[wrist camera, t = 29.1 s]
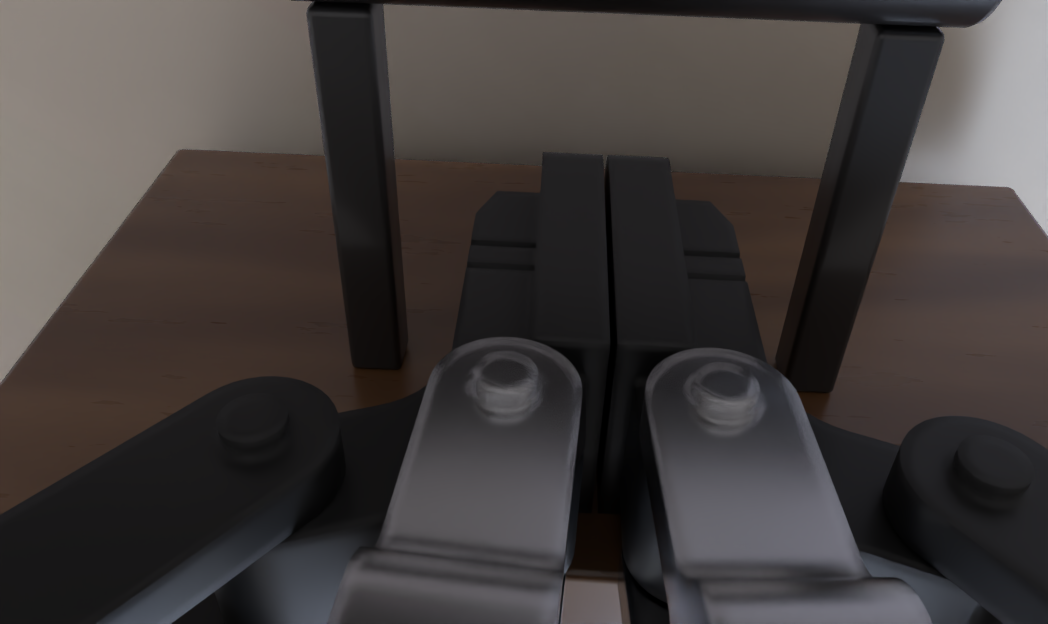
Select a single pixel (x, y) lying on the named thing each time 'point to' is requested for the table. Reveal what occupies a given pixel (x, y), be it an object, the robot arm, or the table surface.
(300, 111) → the table surface
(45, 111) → the table surface
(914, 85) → the drawer
